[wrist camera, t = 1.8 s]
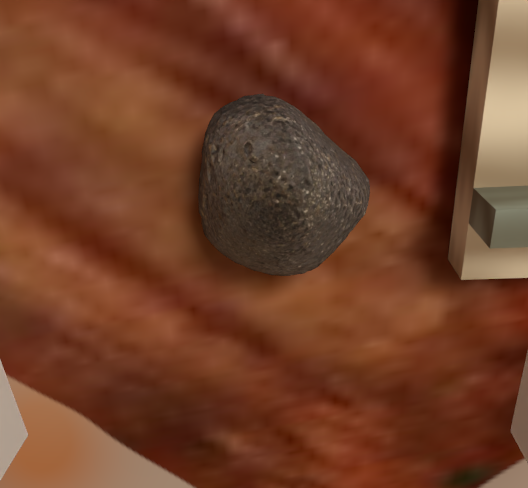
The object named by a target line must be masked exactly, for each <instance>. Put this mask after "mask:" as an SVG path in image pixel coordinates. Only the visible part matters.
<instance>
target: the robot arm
mask: <svg viewBox="0 0 528 488" xmlns="http://www.w3.org/2000/svg"><path fill="white" fill-rule="evenodd" d="M511 433H512V435H513V436H514V438H515V440H516V442H517V444H518V446H519V448H520V450H521V452H522V453H523V455H524V457H525V459H526V461H527V463H528V352H527V356H526V361H525V366H524V370H523V375H522V380H521V384H520V389H519V394H518V398H517V403H516V408H515V412H514V417H513V422H512V426H511ZM27 436H28V433H27V430H26V428H25V425H24V422H23V420H22V417H21V414H20V412H19V409H18V406H17V403H16V401H15V398H14V395H13V393H12V390H11V387H10V385H9V382H8V379H7V376H6V374H5V371H4V368H3V366H2V363H1V360H0V480H1V478H2V477H3V475H4V474H5V472H6V470H7V469H8V467H9V465H10V464H11V462H12V461H13V459H14V457H15V456H16V454H17V452H18V451H19V449H20V448H21V446H22V444H23V443H24V441H25V439H26V438H27Z"/></svg>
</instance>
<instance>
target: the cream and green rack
mask: <svg viewBox="0 0 528 488" xmlns="http://www.w3.org/2000/svg"><path fill="white" fill-rule="evenodd" d="M448 260H449V262H450V263H451V265H452V267H453V268H454V270H455V271H456V273H457V274H458V276H459V278H460V279H461V280H472V279H503V278H528V0H479V1H478V9H477V18H476V26H475V34H474V43H473V51H472V60H471V68H470V76H469V85H468V93H467V102H466V110H465V118H464V127H463V135H462V144H461V152H460V161H459V169H458V177H457V186H456V194H455V203H454V211H453V219H452V228H451V236H450V245H449V253H448Z"/></svg>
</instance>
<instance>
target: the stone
mask: <svg viewBox="0 0 528 488" xmlns="http://www.w3.org/2000/svg"><path fill="white" fill-rule="evenodd" d="M369 193H370V185H369V179H368V178H367V176H366V175H365V174H364V172H363V171H362V169H361V168H360V166H359V165H358V164H357V162H356V161H355V160H354V159H353V158H352V157H350V156H349V155H348V154H347V153H345V152H344V151H343V150H342V149H340V148H339V147H338V146H337V145H336V144H335V143H334V142H333V141H332V140H331V139H329V138H328V137H327V136H326V135H325V134H324V133H323V132H322V130H321V129H320V128H319V127H318V126H317V125H316V124H315V123H314V122H313V121H311V120H310V119H309V118H308V117H306V116H305V115H304V114H303V113H302V112H301V111H299V110H298V109H297V108H295V107H294V106H292V105H290V104H289V103H287V102H285V101H283V100H281V99H279V98H276V97H273V96H265V95H264V94H257V95H253V96H244V97H242V98H240V99H238V100H237V101H234V102H231V103H229V104H227V105H225V106H224V107H222V108H221V109H219V110H218V111H217V112H216V113H215V114H214V115H213V117H212V119H211V121H210V123H209V125H208V128H207V130H206V133H205V138H204V143H203V148H202V165H201V172H200V179H199V195H198V198H199V213H200V215H201V217H202V226H203V230H204V234H205V236H206V237H207V238H208V240H209V241H210V242H211V243H212V244H213V245H214V247H215V248H216V249H217V250H218V251H220V252H221V253H222V254H223V255H225V256H226V257H228V258H229V259H231V260H232V261H234V262H235V263H238V264H241V265H243V266H245V267H247V268H250V269H252V270H254V271H260V272H263V273H266V274H270V275H280V276H289V275H295V274H302V273H305V272H306V271H311V270H313V269H315V268H317V267H318V266H319V265H320V264H321V263H322V262H323V261H324V260H325V259H327V258H328V257H329V256H330V255H331V254H332V253H333V252H334V251H335V250H336V248H337V247H338V246H339V245H340V244H341V243H342V242H343V241H344V240H345V239H346V237H347V236H348V234H349V233H350V231H352V230H353V228H354V227H355V226H356V224H357V223H358V222H359V220H360V219H361V218H362V217H363V216H364V215H365V213H366V209H367V206H368V201H369Z"/></svg>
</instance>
